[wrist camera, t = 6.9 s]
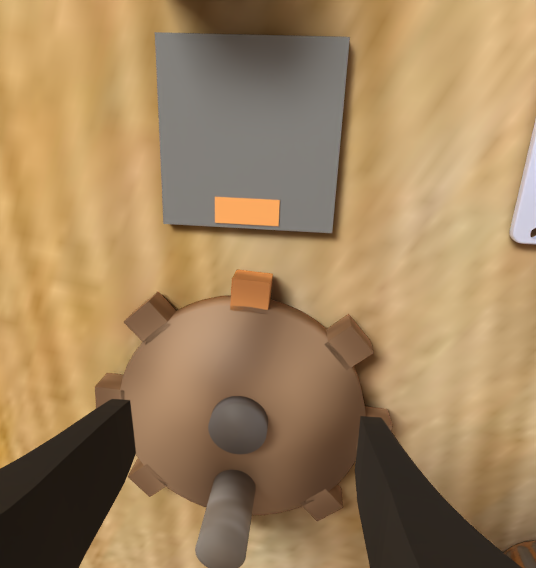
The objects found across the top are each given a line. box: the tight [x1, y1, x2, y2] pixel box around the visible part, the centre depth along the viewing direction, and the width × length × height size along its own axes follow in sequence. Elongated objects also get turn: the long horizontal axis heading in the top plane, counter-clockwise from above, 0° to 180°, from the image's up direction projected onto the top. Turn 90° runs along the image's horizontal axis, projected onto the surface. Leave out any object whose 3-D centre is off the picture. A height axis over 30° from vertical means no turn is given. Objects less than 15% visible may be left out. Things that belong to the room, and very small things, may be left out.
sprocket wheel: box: [95, 270, 393, 568], centre depth 21 cm, size 16×16×5 cm
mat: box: [155, 33, 350, 233], centre depth 19 cm, size 8×8×1 cm
